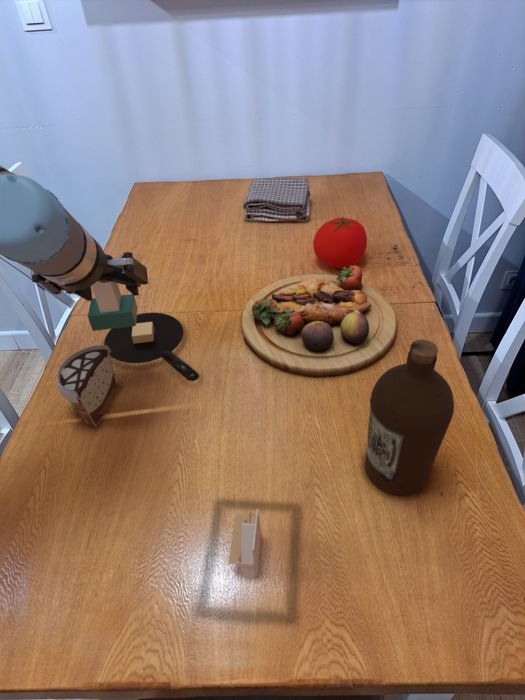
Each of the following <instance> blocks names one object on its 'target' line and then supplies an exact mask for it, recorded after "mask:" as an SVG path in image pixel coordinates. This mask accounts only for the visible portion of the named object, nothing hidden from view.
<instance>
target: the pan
mask: <svg viewBox="0 0 525 700" xmlns="http://www.w3.org/2000/svg"><path fill="white" fill-rule="evenodd" d="M145 322H153V326H154V341H151V342H143V343H135V344H134V343H133V339H132V327H133V326H131V327H122V328H114V329H109V330H108V332H107V334H106V336H105V338H104V342H103V345H107V346H108V347H109V348H110V350H111V353H110V357H111V359H114V360H116V361H118V362H122V363H127V364H143V363H149V362H154V361H156V360H159V359H163V361H164V362H166V363H167V364H168V365H170V367H172V368H173V369H174V370H175V371H177V372H178V373H179V374H180V375H181V376H182V377H184V378H185V379H186V380H187V381H189V382H195V381H197V380H198V379H199V378H200V374H199V373H198V372H197V371H196V370H195V369H194V368H192V367H191V366H190V365H189V364H188V363H186V362H185V361H184V360H183V359H182V358H180V357H179V356H178V355H176V354H175V353H174V352H173V351H174V350H175V349H176V348H177V347H178V346H179V345H180V343H181V342H182V340H183V338H184V327H183V325H182V322H180V321H179V320H178V319H177V318H176V317H174V316H172V315H170V314H167V313H162V312H143V313H137V318H136V324H137V323H145Z"/></svg>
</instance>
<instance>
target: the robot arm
mask: <svg viewBox="0 0 525 700" xmlns="http://www.w3.org/2000/svg"><path fill="white" fill-rule="evenodd" d="M133 255H134V253H133V252H130V251H125V252H123V253H122V254H121V255H119V258H114V257H113V256H112V255H110V254H108V253H105V252H104V249H103V247H102V246H101V245H100V244H99V242H98V241H97V240H96V239H95V238H94V237H93V236H92V235H91V234H90V232H89V231H88V230H87V229H86V228H85V227H84V226H83V225H81V224H80V222H78V221H77V219H76V218H75V217H73V215H72V214H71V213H70V212H69V211H68V210H67V209H66V208H65V207H64V205H63V204H62V203H61V202H60V200H59V199H58V197H57V196H56V195H55V194H54V193H53V192H52V191H51V190H49V189H46V188H45V187H44V186H43V185H41V184H40V183H38V182H37V181H36V180H34V179H33V178H31V177H28V176H24V175H21V174H16V173H14V172H11V171H10V170H8V169H6V168H5V167H4V166H2V165H0V256H2V257H4V258H6V259H7V260H9V261H11V262H14V263H17V264H19V265H21V266H23V267H25V268H27V269H29V270H30V274H31V282H32V283H35V284H39V285H41V286H43V288H45V289H46V290H48V291H49V292H50V293H51V294H53V295H55V296H56V295H61V294H62V292H63V291H65V294H68V295H76V296H78V297H80V298H82V299H84V300H86V301H87V302H91V299H93V293H92V291H93V290H92V285H93V284H95V283H96V282H97V281H99V282H103V283H107V282H115V283H118V285H119V284H121V285H123V286H125V289H126V290H127V291H128V292H129V293H130V294H133V295H134V297H135V296H137V297H138V296H139V295H140V293H139V288H141V287H142V285H143V286H145V285H148V284H149V277H148V269H147V266H145V264H142V263H141V262H140V261H138V260H137V259H136V258H135V257H134V256H133Z"/></svg>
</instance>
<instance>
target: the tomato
mask: <svg viewBox="0 0 525 700" xmlns="http://www.w3.org/2000/svg"><path fill="white" fill-rule="evenodd" d="M312 246H313V252H314V255H315V256H316V257H317V259H318V260H319V261H321V263H323V264H325V265H326V266H328V267H331V268H333V269H339V270H343V269H342V268H344V266H345V267H346V268H347V269H348V268H349V267H350V265H351V266H357V264H358V263H359V262H360V261H361V260H362V259H363V257H364V254H365V253H366V250H367V248H368V247H367V246H368V237H367V232H366V229H365V227H364V226H363V224H362V223H360V221H358V220H355V219H353V218H348V217H344V216H342V217H336V218H333V219H330V220H328V221H326V222H324V223H322V225H321V226H320V227H319V228H318V229H317V231H316V232H315V234H314V238H313V240H312Z"/></svg>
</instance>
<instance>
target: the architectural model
mask: <svg viewBox="0 0 525 700" xmlns="http://www.w3.org/2000/svg"><path fill="white" fill-rule="evenodd" d="M259 512H260V511H259V508H256V512H255V514H251V513H252V512H251V511H249V514H245V513H243V514H242V513H235V514H234V515H235V516H234V522H233V529H232V536H231V542H230V550H229V557H228V564H229V565H240V571H241V576H242V579H243V578H246V579H256V578H257V577H258V572H259V563H260V561H259V560H260V551H261V542H262V541H261V539H262V532H261V522H260V513H259Z"/></svg>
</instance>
